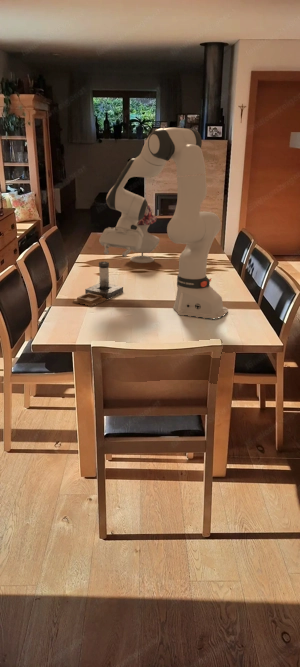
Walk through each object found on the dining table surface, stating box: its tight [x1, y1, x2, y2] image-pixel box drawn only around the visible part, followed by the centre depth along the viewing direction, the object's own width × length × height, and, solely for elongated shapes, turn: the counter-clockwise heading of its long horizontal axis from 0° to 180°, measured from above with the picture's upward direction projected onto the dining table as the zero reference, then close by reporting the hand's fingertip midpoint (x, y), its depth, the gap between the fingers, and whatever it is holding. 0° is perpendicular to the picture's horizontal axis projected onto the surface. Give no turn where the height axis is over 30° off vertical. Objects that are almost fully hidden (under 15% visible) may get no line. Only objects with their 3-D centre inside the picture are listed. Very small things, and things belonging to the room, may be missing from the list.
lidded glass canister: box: [98, 261, 110, 290], centre depth 222 cm, size 4×4×14 cm
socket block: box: [84, 282, 124, 300], centre depth 224 cm, size 12×12×2 cm
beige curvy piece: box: [129, 204, 161, 264], centre depth 275 cm, size 19×18×30 cm
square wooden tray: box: [72, 293, 107, 307], centre depth 214 cm, size 10×10×2 cm
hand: (114, 254), depth 226 cm, fingers open, 8 cm apart
